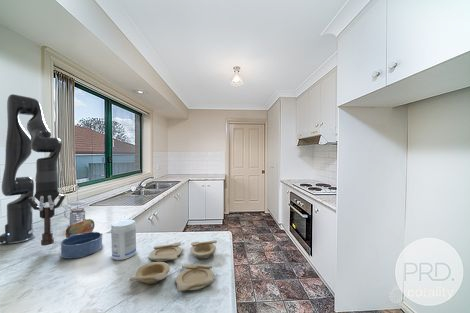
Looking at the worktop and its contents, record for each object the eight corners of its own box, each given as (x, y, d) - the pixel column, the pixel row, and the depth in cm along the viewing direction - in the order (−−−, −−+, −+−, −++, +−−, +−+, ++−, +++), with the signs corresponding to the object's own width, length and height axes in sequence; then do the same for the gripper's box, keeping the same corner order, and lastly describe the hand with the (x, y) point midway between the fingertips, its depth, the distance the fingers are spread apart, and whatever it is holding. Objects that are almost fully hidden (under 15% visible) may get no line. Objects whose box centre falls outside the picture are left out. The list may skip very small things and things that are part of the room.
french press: (90, 223, 130) (89, 185, 130) (67, 229, 121) (67, 188, 120) (83, 221, 136) (82, 184, 135) (61, 226, 126) (61, 186, 126)
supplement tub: (136, 248, 96) (136, 217, 96) (136, 257, 87) (135, 224, 87) (112, 252, 92) (112, 220, 92) (110, 262, 83) (109, 227, 83)
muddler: (39, 246, 90) (39, 208, 90) (42, 242, 94) (42, 206, 94) (52, 244, 92) (52, 207, 92) (55, 240, 96) (55, 205, 96)
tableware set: (156, 246, 98) (156, 238, 98) (217, 245, 99) (217, 236, 99) (119, 298, 63) (119, 285, 63) (213, 294, 64) (213, 281, 64)
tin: (69, 242, 102) (68, 226, 102) (64, 242, 103) (63, 225, 103) (95, 231, 117) (94, 217, 117) (90, 231, 118) (90, 216, 118)
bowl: (56, 262, 83) (56, 248, 83) (65, 248, 97) (65, 235, 97) (100, 254, 91) (100, 240, 91) (103, 241, 104) (103, 229, 104)
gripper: (68, 178, 99) (68, 213, 100) (29, 180, 93) (30, 217, 93) (64, 180, 93) (64, 217, 93) (22, 182, 86) (22, 222, 86)
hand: (47, 217), depth 93 cm, fingers closed on muddler, 2 cm apart
